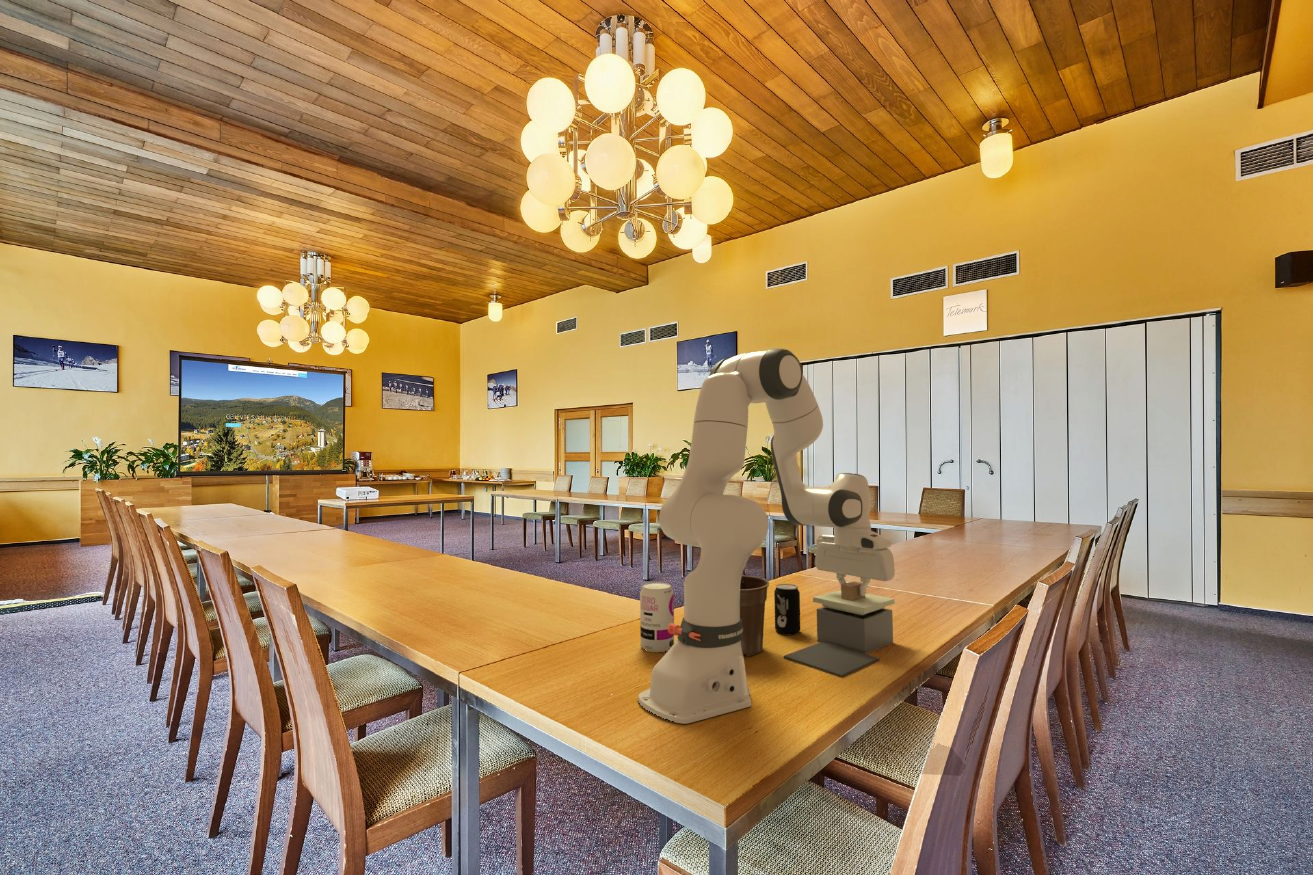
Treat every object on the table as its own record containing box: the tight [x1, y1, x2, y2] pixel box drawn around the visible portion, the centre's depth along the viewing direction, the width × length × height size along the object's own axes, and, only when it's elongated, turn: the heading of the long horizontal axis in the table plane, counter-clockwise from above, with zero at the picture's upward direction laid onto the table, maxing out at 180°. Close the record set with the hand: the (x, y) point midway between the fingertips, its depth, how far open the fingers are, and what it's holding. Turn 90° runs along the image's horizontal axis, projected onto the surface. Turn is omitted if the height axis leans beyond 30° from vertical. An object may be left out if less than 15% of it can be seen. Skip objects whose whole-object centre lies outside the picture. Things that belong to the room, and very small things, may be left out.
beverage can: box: [773, 583, 801, 636], centre depth 148 cm, size 7×7×12 cm
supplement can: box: [639, 582, 675, 653], centre depth 136 cm, size 8×8×15 cm
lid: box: [812, 580, 895, 615], centre depth 139 cm, size 14×14×6 cm
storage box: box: [816, 606, 894, 655], centre depth 139 cm, size 13×13×8 cm
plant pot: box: [740, 575, 770, 657], centre depth 135 cm, size 16×16×16 cm
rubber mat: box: [783, 642, 880, 678], centre depth 127 cm, size 15×15×1 cm
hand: (853, 593), depth 139 cm, fingers closed on lid, 3 cm apart
